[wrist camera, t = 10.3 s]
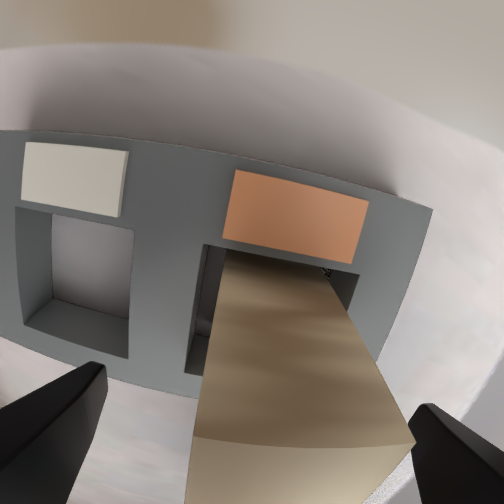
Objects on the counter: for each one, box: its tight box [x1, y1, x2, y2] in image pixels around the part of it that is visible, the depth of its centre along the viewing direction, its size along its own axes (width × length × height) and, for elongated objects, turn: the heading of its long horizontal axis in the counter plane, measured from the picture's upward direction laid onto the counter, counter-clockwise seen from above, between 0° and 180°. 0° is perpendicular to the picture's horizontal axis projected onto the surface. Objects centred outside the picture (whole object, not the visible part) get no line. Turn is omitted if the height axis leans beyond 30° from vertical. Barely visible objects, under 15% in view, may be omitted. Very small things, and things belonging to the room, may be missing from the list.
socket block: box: [0, 130, 433, 399], centre depth 12 cm, size 18×10×3 cm, turn 78°
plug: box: [184, 248, 416, 504], centre depth 10 cm, size 4×4×10 cm
